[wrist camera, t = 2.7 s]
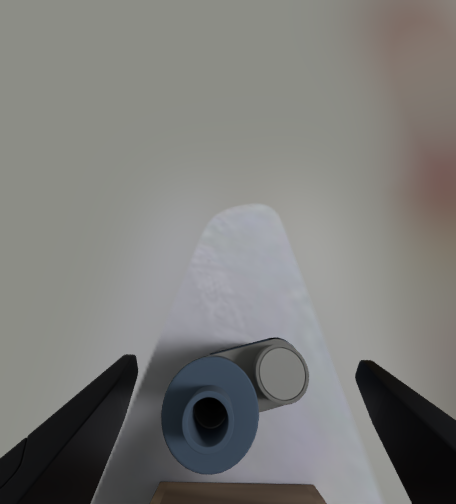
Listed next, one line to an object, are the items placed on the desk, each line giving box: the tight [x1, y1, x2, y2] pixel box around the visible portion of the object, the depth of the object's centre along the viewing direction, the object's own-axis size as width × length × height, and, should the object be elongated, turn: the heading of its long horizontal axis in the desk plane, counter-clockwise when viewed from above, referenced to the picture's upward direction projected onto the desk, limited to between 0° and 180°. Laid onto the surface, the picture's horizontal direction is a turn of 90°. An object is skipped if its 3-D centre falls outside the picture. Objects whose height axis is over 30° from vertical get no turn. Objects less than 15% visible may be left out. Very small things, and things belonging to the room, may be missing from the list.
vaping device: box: [161, 338, 309, 475], centre depth 10 cm, size 3×5×12 cm, turn 103°
